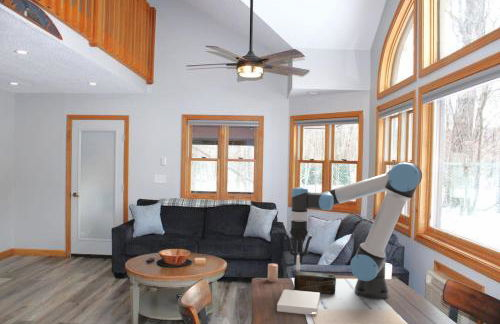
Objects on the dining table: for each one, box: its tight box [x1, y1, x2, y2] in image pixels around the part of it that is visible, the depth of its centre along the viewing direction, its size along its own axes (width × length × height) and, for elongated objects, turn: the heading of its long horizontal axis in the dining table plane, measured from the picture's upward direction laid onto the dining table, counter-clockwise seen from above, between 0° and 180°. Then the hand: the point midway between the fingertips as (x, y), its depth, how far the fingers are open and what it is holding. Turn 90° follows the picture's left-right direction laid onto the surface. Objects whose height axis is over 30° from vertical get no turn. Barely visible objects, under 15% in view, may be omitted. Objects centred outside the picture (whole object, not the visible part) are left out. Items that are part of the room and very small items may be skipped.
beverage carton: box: [293, 270, 337, 295], centre depth 194 cm, size 8×19×7 cm
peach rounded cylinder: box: [267, 263, 279, 283], centre depth 210 cm, size 5×5×8 cm
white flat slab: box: [276, 288, 321, 315], centre depth 175 cm, size 16×20×3 cm
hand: (298, 269), depth 196 cm, fingers closed
